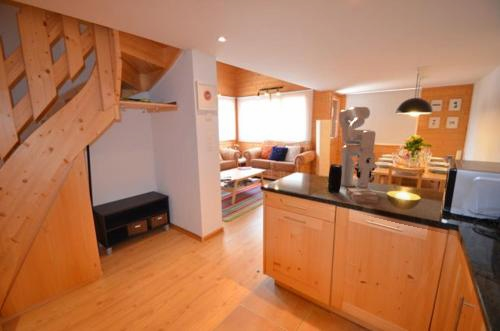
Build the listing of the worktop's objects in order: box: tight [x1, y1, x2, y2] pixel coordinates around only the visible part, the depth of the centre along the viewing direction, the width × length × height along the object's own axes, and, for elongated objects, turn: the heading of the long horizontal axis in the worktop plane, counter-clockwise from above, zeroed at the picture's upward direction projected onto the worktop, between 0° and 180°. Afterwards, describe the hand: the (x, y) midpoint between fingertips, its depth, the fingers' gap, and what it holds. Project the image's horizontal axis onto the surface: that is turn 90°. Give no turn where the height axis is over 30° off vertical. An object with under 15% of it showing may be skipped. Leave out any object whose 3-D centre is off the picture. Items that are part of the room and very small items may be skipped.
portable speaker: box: [327, 163, 342, 194], centre depth 162 cm, size 9×9×20 cm
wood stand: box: [345, 187, 379, 203], centre depth 150 cm, size 14×14×5 cm
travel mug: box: [356, 158, 371, 189], centre depth 146 cm, size 6×7×20 cm
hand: (363, 177), depth 147 cm, fingers closed on travel mug, 6 cm apart
